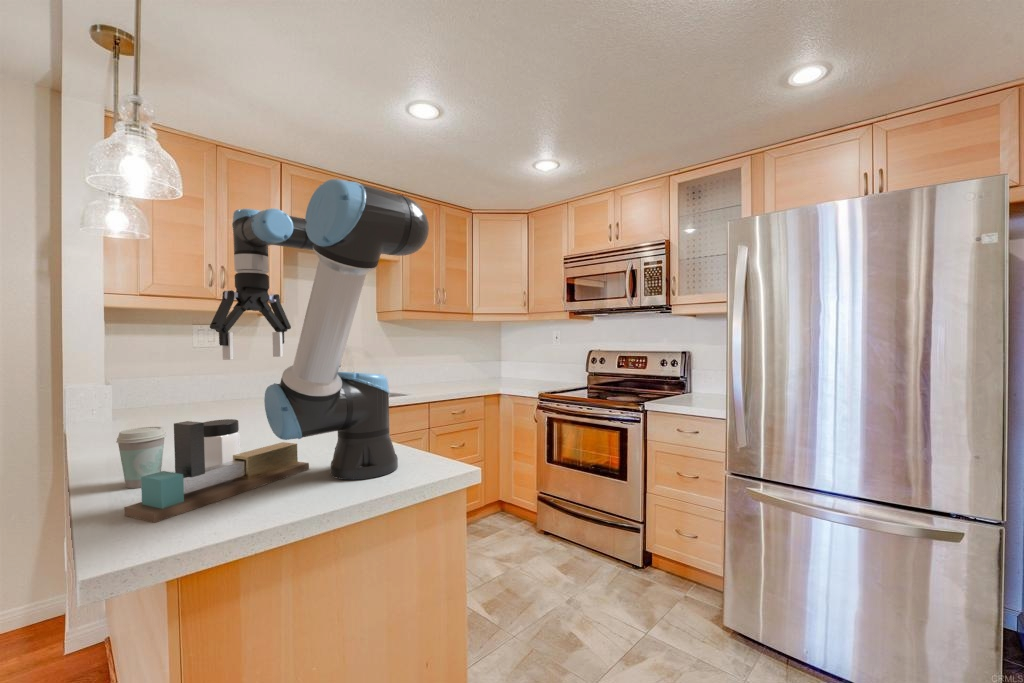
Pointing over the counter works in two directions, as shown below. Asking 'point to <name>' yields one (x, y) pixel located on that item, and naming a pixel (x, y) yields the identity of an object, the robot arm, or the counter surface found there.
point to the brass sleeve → (268, 459)
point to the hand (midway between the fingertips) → (254, 358)
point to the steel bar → (200, 459)
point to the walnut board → (210, 494)
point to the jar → (221, 441)
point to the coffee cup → (140, 453)
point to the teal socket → (162, 489)
